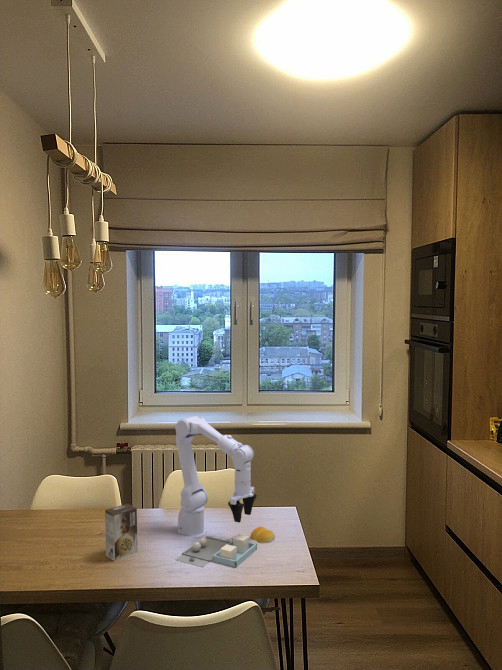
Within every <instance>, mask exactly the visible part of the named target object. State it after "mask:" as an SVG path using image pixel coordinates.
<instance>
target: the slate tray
mask: <svg viewBox="0 0 502 670" xmlns="http://www.w3.org/2000/svg"><path fill="white" fill-rule="evenodd" d="M204 538H206V539H207V545H206V546H205V547H201V549H200V550H199V551H197V552H196V551H194V550H193V549H192V546H190V547H188V548H187V549H185V550H184V551H183V552H182V553H181V555H179V556H178V557H177V558H174V559H175V561H177V562H182V563H184V564H189V565H193V566H196V567H198V568H199V567H200V568H204V567H205V566H206V565H208V564H209V563H212V562H213V560H212V556H213V555H214V554H215V553H217V552H218V551H219V550H220V549H221V548H222V547H223V546H225V545H226V544H228V543H230V542H231V541H232V540H231V541H230V540H226V539H222V538H217V537H214V536H213V537H212V536H209V535H206V536H205V537H204Z"/></svg>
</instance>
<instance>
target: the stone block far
mask: <svg viewBox="0 0 502 670" xmlns="http://www.w3.org/2000/svg"><path fill="white" fill-rule="evenodd" d="M232 540H233V546H235V547H237V552H238V553H242V554H244V553H245V552H246V551H247V550H248V549H249V542H250V536H249V535H243V534H239V533H238V534H237V535H236V536H234V537H233V539H232Z"/></svg>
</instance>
